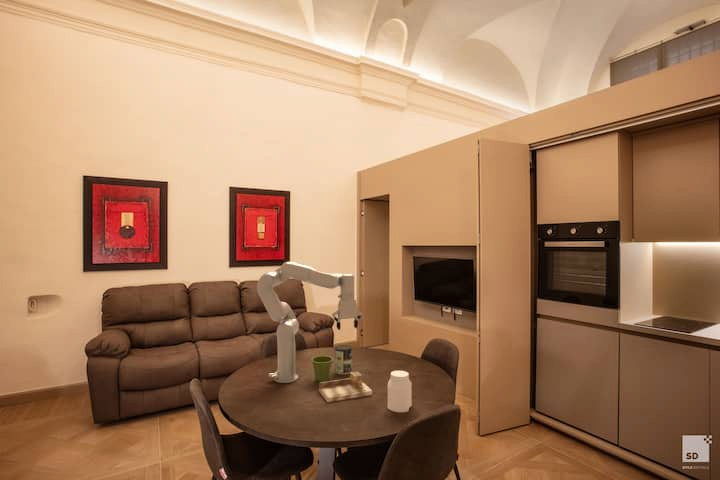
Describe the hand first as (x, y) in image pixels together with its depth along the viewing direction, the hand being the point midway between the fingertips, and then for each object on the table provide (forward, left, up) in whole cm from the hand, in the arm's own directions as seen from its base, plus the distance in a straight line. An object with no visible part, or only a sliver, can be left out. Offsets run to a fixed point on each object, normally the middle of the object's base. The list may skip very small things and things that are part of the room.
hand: (347, 328), depth 200 cm
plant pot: (-12, +7, -28) cm, 32 cm away
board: (-6, -15, -28) cm, 33 cm away
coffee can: (+3, +15, -28) cm, 32 cm away
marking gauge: (0, -16, -26) cm, 30 cm away
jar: (+11, -39, -28) cm, 49 cm away
